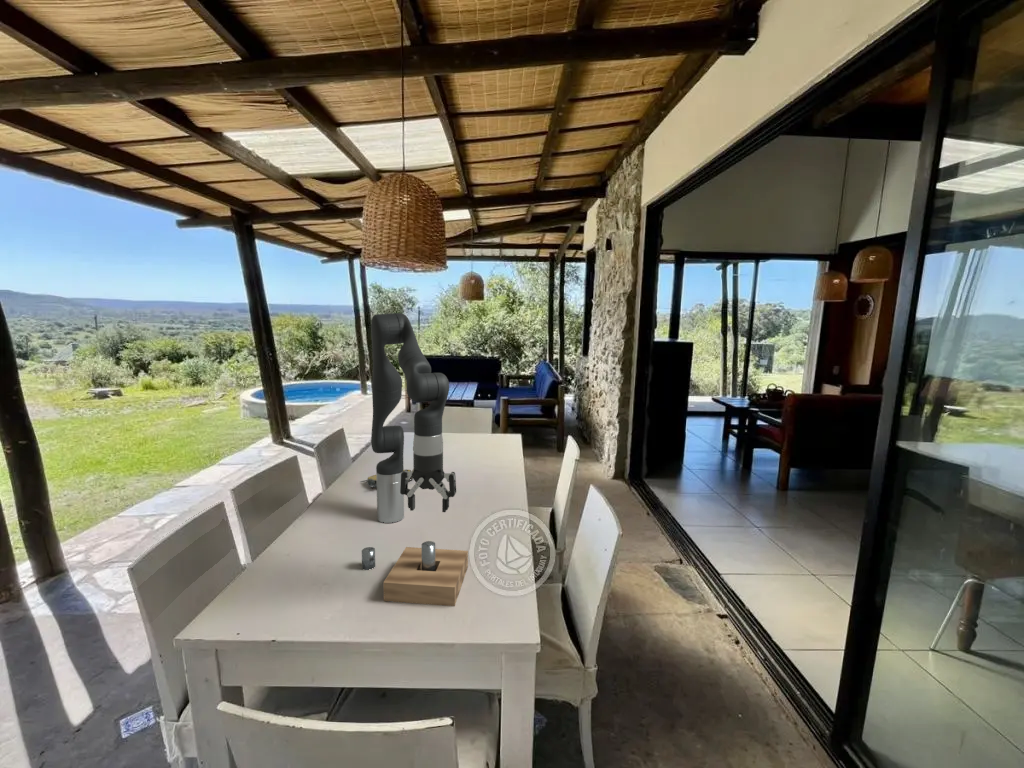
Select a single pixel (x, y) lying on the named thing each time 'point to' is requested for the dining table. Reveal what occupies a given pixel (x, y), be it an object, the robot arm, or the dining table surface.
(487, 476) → the dining table surface
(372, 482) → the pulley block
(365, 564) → the short pin
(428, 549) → the long pin
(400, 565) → the block
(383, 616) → the dining table surface
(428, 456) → the robot arm
